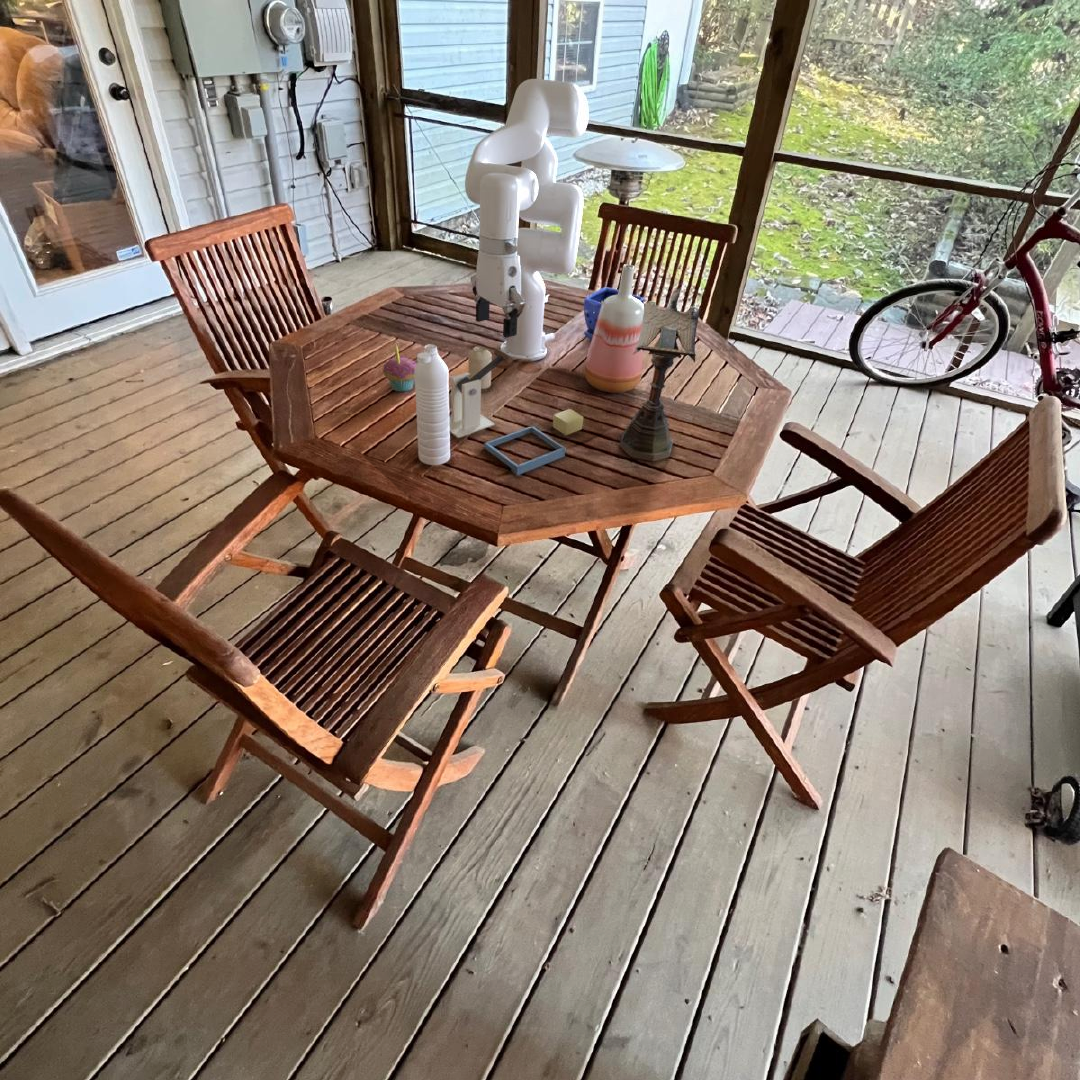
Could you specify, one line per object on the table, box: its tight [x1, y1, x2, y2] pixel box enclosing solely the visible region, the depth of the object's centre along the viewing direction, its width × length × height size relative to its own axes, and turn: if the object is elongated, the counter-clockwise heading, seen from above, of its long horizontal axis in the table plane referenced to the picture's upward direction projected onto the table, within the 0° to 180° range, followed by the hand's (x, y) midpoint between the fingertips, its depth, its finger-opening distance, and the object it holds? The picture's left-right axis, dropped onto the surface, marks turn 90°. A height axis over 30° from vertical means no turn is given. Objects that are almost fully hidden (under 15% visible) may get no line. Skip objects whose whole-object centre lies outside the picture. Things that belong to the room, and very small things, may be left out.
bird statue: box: [619, 288, 700, 462], centre depth 140 cm, size 17×13×35 cm
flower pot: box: [583, 286, 645, 340], centre depth 194 cm, size 13×13×12 cm
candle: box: [468, 346, 493, 390], centre depth 166 cm, size 6×6×10 cm
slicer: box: [449, 371, 496, 439], centre depth 150 cm, size 10×8×12 cm
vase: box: [583, 264, 645, 394], centre depth 166 cm, size 14×14×30 cm
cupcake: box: [382, 343, 417, 393], centre depth 163 cm, size 9×8×12 cm
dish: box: [483, 425, 567, 476], centre depth 146 cm, size 13×11×2 cm
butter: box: [552, 408, 584, 436], centre depth 154 cm, size 5×4×4 cm
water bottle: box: [414, 343, 451, 466], centre depth 134 cm, size 9×6×25 cm
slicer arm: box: [457, 348, 514, 393], centre depth 149 cm, size 13×5×2 cm, turn 130°
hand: (495, 328), depth 146 cm, fingers open, 9 cm apart
